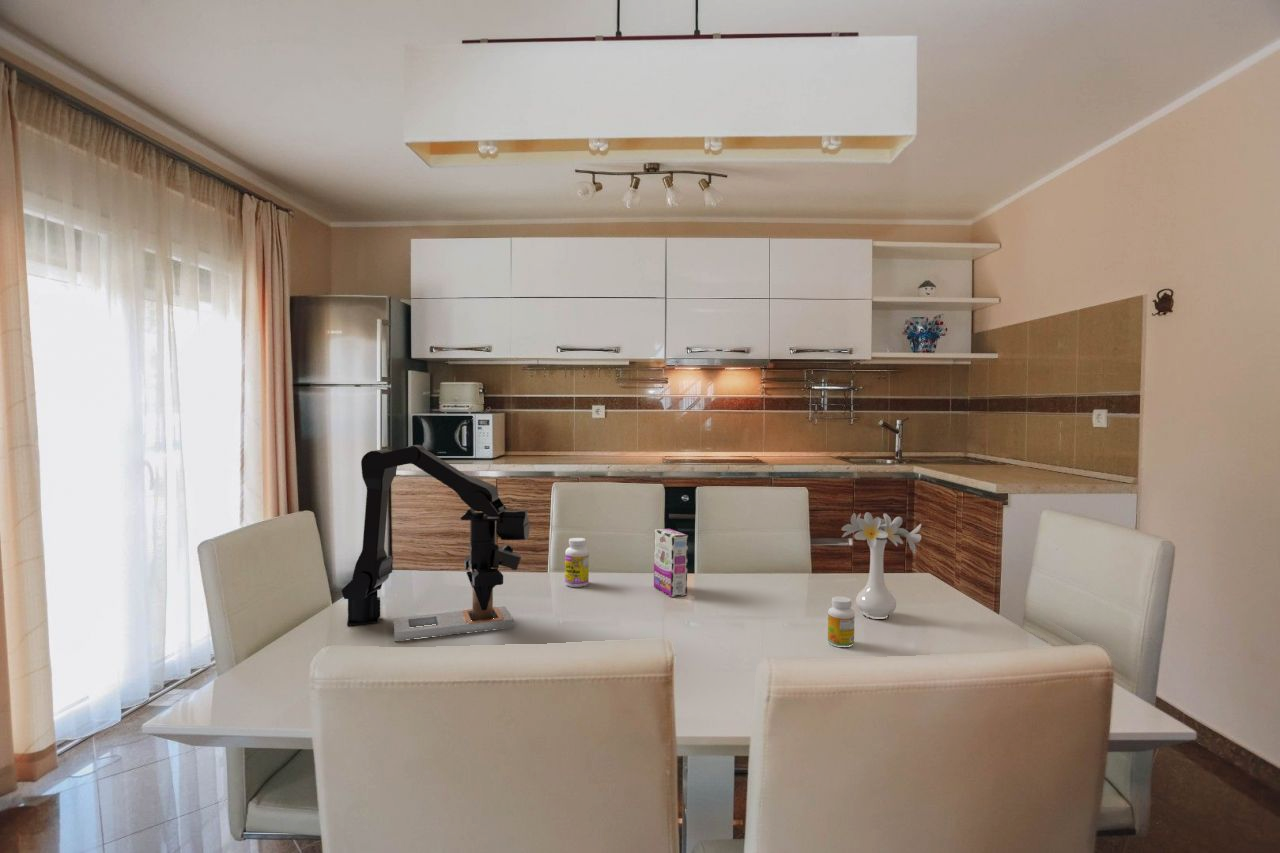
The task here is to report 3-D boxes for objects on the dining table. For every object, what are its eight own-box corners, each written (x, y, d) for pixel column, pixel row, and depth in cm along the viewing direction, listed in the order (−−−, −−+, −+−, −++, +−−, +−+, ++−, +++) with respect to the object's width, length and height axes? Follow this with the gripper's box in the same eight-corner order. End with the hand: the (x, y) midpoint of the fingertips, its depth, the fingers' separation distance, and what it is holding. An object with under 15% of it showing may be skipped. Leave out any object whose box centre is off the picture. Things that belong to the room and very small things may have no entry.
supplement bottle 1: (560, 585, 180) (560, 540, 180) (573, 580, 186) (573, 536, 185) (580, 589, 177) (580, 542, 176) (593, 583, 183) (593, 538, 182)
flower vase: (927, 625, 151) (930, 518, 150) (848, 624, 151) (850, 517, 150) (904, 607, 164) (906, 509, 163) (831, 606, 164) (833, 508, 163)
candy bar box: (688, 596, 172) (689, 534, 171) (671, 598, 170) (672, 536, 169) (668, 585, 182) (669, 527, 181) (652, 587, 180) (653, 528, 179)
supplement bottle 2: (823, 639, 141) (824, 595, 140) (848, 639, 141) (848, 595, 141) (833, 648, 135) (833, 603, 135) (858, 648, 136) (859, 602, 135)
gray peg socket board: (394, 642, 136) (394, 631, 136) (393, 626, 146) (393, 617, 145) (513, 627, 146) (513, 618, 146) (505, 614, 155) (505, 605, 155)
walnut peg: (473, 624, 145) (474, 584, 145) (471, 617, 149) (471, 579, 149) (494, 621, 147) (494, 582, 146) (490, 615, 151) (491, 577, 151)
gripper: (526, 545, 142) (526, 615, 142) (510, 529, 159) (510, 592, 160) (474, 548, 138) (474, 621, 138) (463, 532, 155) (463, 596, 155)
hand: (482, 606), depth 148 cm, fingers closed on walnut peg, 4 cm apart
